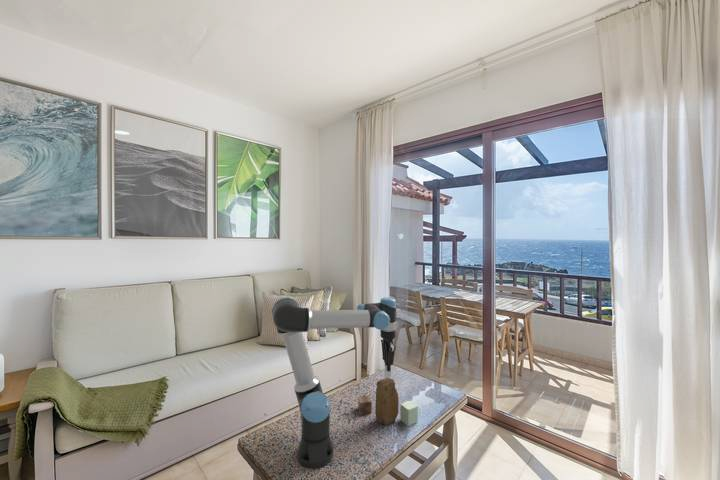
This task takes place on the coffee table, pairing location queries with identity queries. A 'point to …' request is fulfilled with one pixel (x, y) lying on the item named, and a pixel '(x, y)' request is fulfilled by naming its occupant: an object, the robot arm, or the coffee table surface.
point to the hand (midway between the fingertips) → (387, 376)
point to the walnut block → (364, 404)
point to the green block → (409, 413)
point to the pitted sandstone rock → (386, 401)
